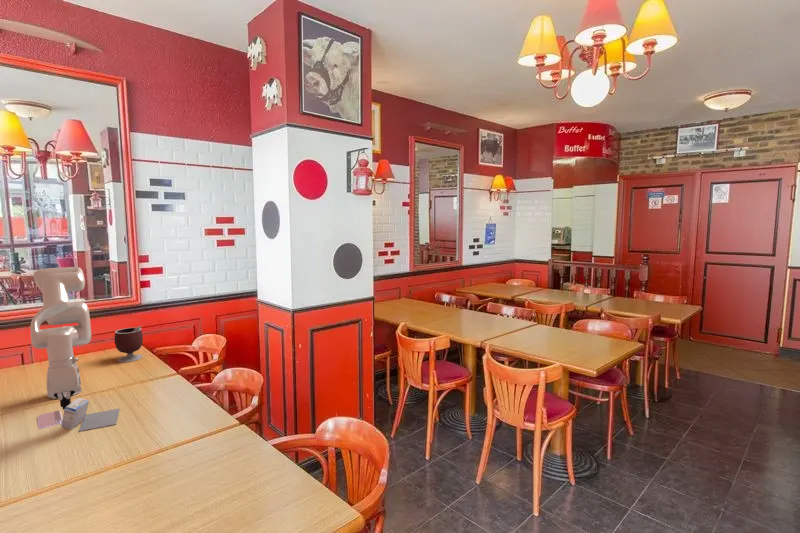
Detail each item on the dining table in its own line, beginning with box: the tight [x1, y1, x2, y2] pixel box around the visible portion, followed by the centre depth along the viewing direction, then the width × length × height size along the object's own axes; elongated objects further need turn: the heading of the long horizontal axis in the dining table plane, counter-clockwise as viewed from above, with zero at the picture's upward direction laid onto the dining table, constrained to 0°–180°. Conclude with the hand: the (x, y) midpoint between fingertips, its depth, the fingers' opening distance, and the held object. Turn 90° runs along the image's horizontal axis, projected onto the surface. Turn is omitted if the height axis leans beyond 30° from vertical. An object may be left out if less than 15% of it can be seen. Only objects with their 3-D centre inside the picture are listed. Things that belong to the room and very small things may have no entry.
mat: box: [78, 408, 121, 433], centre depth 175 cm, size 16×12×1 cm
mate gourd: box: [114, 325, 144, 363], centre depth 250 cm, size 16×14×20 cm
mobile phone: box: [36, 410, 63, 430], centre depth 176 cm, size 8×1×15 cm
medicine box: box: [60, 397, 90, 430], centre depth 170 cm, size 8×4×9 cm, turn 5°
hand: (66, 407), depth 169 cm, fingers closed
